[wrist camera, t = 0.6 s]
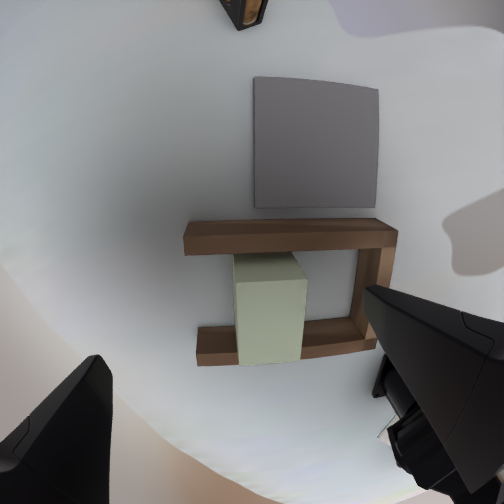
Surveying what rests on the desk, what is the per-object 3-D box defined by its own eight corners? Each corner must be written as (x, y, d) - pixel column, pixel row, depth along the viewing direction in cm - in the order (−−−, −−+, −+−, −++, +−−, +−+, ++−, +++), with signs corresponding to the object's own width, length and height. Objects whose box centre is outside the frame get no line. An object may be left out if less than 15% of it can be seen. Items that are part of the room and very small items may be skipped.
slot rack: (359, 326, 26) (375, 348, 23) (199, 339, 25) (197, 366, 21) (375, 218, 22) (398, 230, 19) (189, 222, 21) (183, 236, 18)
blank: (283, 314, 25) (300, 360, 19) (234, 317, 24) (239, 365, 19) (286, 244, 23) (307, 279, 17) (232, 246, 22) (236, 282, 17)
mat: (370, 205, 22) (374, 207, 21) (254, 205, 21) (255, 208, 20) (373, 90, 19) (378, 89, 18) (253, 78, 18) (254, 76, 17)
